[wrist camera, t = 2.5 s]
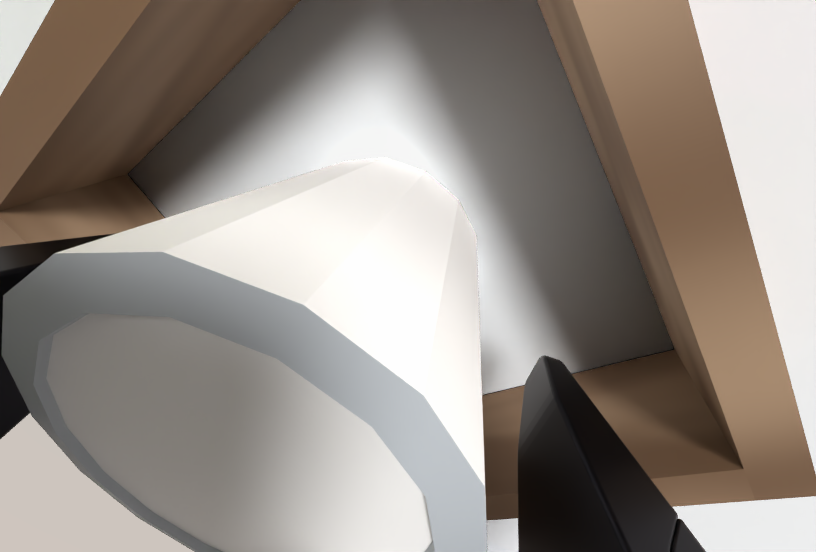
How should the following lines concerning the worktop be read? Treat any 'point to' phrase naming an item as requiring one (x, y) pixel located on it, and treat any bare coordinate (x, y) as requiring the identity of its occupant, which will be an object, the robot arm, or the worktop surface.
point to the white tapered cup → (272, 366)
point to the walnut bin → (618, 152)
